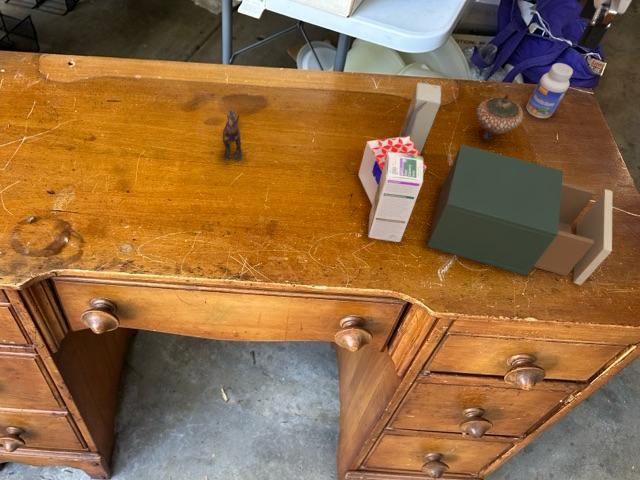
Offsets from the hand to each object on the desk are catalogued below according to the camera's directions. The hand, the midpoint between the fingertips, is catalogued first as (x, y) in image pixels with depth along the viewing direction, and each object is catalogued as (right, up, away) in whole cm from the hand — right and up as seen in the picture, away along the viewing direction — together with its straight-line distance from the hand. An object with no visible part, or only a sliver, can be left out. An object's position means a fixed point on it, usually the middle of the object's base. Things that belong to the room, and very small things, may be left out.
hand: (586, 32), depth 103 cm
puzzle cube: (-36, -28, +2) cm, 45 cm away
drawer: (-12, -39, -6) cm, 41 cm away
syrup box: (-38, -36, -4) cm, 52 cm away
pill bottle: (-1, -9, +15) cm, 18 cm away
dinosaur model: (-64, -18, +7) cm, 67 cm away
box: (-30, -19, +8) cm, 36 cm away
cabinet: (-21, -36, -4) cm, 42 cm away
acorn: (-14, -16, +10) cm, 24 cm away
